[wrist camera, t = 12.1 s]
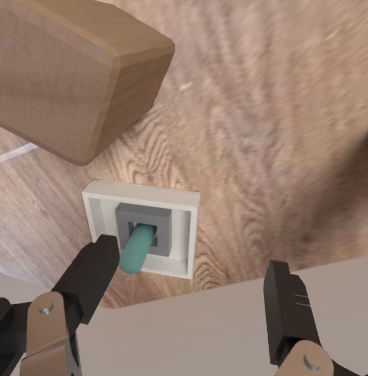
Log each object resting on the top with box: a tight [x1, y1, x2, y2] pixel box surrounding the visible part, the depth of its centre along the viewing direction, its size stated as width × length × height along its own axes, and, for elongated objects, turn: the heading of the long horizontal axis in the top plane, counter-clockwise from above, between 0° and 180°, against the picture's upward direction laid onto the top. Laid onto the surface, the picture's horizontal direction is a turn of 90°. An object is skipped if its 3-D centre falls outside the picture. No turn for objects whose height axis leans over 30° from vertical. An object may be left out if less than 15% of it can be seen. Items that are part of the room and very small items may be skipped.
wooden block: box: [0, 0, 175, 166], centre depth 26 cm, size 10×10×20 cm
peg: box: [118, 223, 157, 274], centre depth 45 cm, size 4×4×10 cm
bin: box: [82, 179, 201, 279], centre depth 48 cm, size 20×18×4 cm
